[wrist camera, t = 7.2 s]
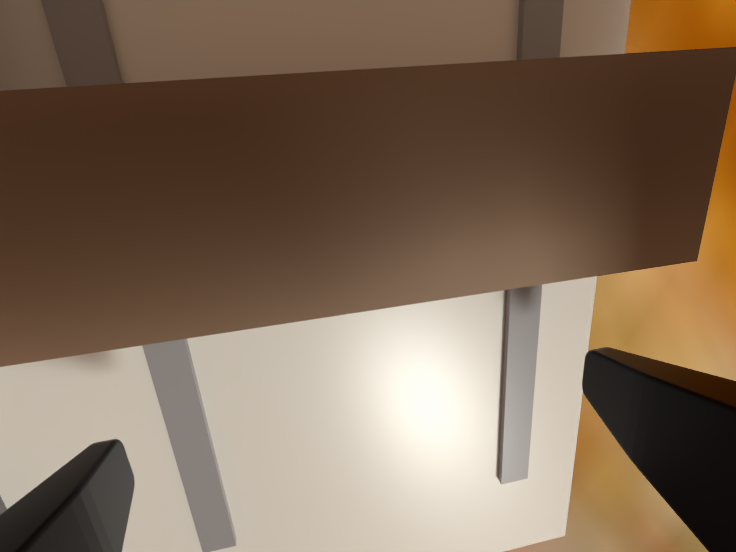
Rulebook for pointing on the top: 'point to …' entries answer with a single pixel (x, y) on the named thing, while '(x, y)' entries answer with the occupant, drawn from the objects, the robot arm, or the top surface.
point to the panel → (317, 321)
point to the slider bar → (343, 191)
